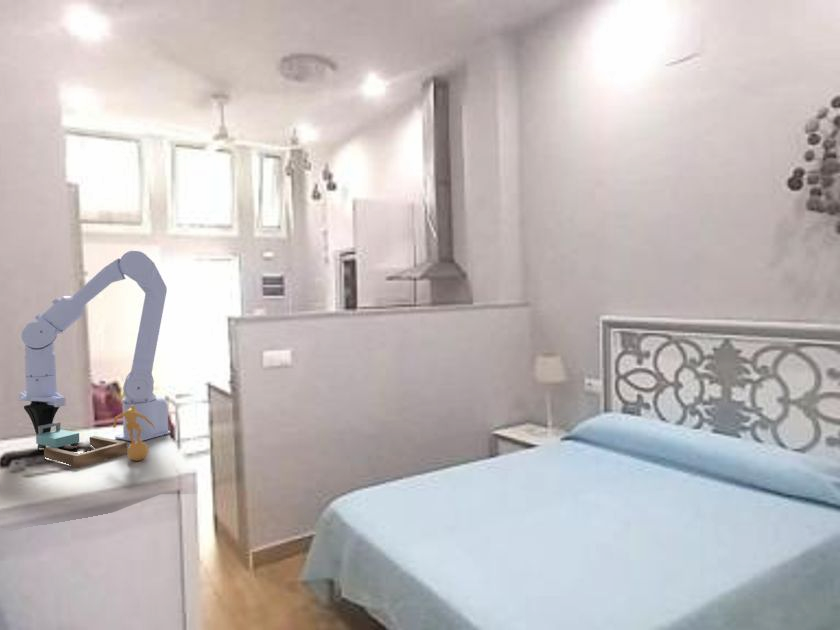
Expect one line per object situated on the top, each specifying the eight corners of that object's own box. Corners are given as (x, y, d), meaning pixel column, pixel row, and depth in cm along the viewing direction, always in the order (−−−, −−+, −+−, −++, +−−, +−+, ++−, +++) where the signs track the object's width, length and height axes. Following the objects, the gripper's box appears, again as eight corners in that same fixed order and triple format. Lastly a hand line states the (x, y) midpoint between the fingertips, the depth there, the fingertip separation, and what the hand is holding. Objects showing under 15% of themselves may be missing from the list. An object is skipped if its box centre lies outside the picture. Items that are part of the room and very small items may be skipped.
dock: (95, 446, 130) (94, 435, 130) (127, 453, 124) (127, 442, 124) (44, 459, 120) (43, 448, 120) (77, 467, 115) (76, 456, 115)
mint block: (60, 444, 131) (59, 421, 130) (79, 449, 128) (78, 425, 127) (36, 450, 126) (35, 426, 126) (55, 455, 123) (54, 430, 123)
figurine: (162, 457, 122) (160, 401, 121) (149, 466, 116) (147, 407, 115) (122, 457, 122) (121, 401, 121) (107, 466, 116) (105, 407, 115)
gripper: (3, 375, 128) (5, 435, 129) (41, 380, 122) (43, 443, 122) (36, 370, 135) (38, 428, 135) (74, 375, 128) (76, 435, 129)
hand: (43, 435), depth 129 cm, fingers closed
